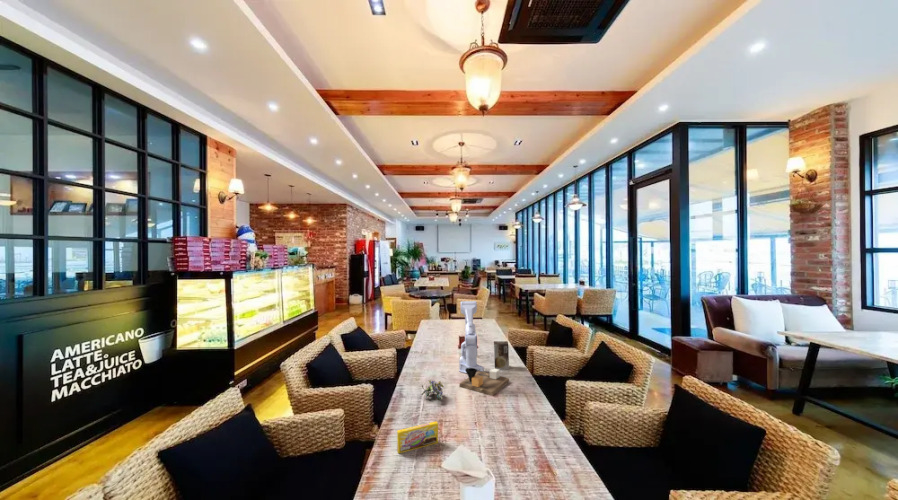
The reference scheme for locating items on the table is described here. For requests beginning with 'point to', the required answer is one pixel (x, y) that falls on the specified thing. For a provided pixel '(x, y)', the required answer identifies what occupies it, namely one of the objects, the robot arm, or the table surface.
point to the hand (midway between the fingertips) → (471, 381)
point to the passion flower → (434, 389)
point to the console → (486, 384)
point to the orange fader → (477, 380)
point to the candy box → (417, 437)
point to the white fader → (494, 373)
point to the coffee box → (501, 355)
